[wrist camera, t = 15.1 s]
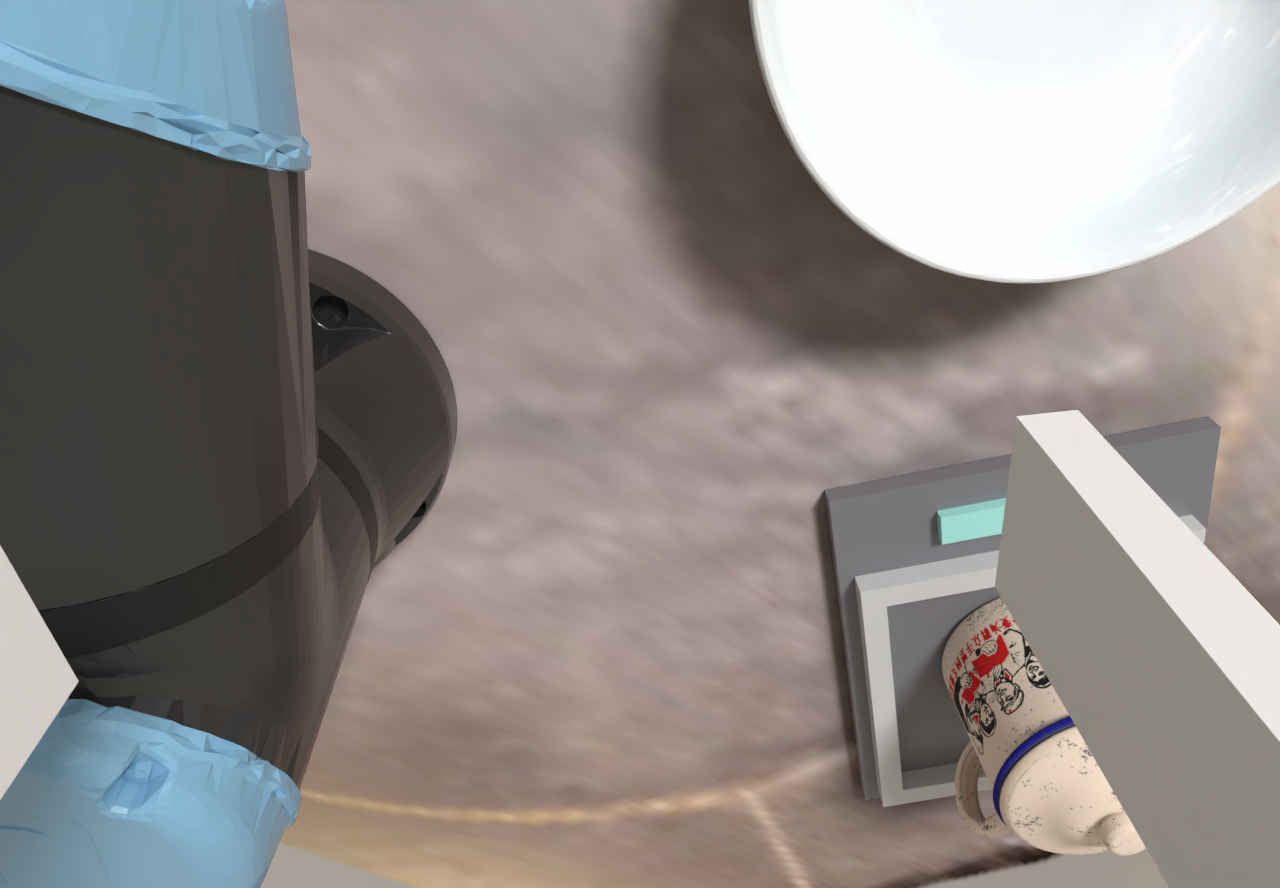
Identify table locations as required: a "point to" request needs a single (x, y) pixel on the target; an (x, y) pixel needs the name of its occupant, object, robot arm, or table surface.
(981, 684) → the teacup with lid
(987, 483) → the base
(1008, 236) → the serving bowl
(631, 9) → the table surface
